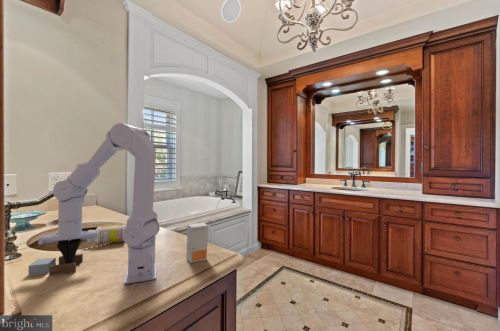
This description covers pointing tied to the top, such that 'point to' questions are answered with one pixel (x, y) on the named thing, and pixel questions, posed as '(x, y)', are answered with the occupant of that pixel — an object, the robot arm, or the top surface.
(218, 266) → the top surface
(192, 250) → the skincare box
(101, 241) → the supplement bottle
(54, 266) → the channel
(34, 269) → the block
